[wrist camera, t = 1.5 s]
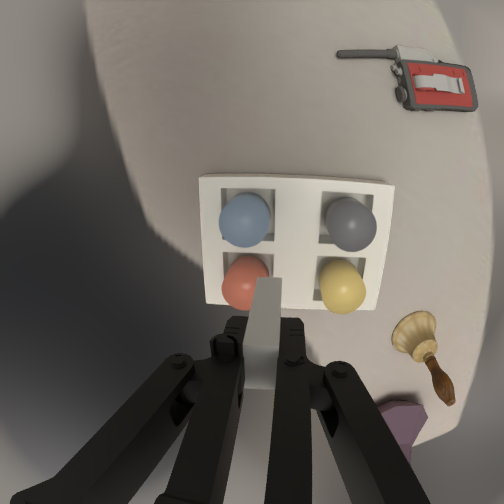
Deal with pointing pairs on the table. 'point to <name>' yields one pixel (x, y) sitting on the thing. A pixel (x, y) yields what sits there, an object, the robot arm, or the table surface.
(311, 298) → the console
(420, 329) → the hand bell
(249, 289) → the button brick
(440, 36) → the table surface
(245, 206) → the button slate
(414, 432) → the flask
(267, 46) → the table surface
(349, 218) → the button charcoal
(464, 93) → the walkie-talkie
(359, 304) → the button mustard
